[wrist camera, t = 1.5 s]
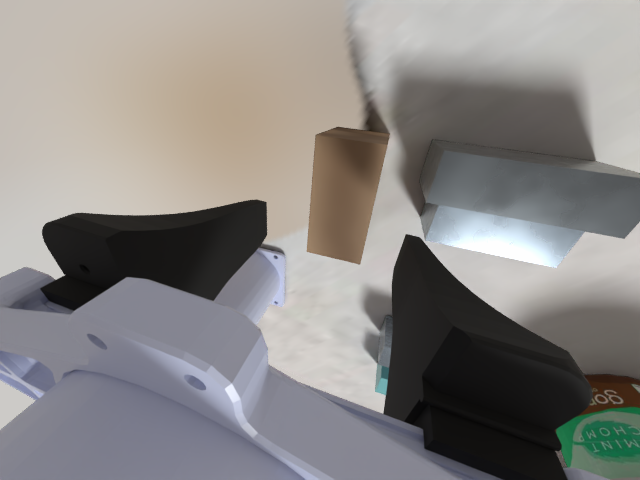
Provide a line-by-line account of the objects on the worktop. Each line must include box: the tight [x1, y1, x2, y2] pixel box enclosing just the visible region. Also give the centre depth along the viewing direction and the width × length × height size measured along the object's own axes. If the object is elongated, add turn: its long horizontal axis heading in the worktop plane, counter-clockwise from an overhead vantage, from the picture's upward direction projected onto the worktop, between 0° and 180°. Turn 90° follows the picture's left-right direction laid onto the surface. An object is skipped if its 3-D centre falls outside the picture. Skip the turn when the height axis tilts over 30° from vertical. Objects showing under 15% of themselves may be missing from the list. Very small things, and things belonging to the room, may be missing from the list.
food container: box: [555, 374, 640, 480], centre depth 20 cm, size 12×6×10 cm, turn 153°
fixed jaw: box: [419, 140, 640, 268], centre depth 15 cm, size 10×6×5 cm, turn 85°
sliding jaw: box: [375, 315, 393, 395], centre depth 26 cm, size 8×9×4 cm
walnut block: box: [307, 127, 390, 264], centre depth 17 cm, size 4×8×6 cm, turn 175°
